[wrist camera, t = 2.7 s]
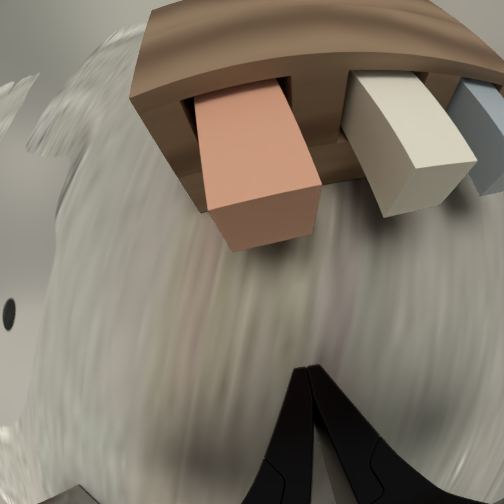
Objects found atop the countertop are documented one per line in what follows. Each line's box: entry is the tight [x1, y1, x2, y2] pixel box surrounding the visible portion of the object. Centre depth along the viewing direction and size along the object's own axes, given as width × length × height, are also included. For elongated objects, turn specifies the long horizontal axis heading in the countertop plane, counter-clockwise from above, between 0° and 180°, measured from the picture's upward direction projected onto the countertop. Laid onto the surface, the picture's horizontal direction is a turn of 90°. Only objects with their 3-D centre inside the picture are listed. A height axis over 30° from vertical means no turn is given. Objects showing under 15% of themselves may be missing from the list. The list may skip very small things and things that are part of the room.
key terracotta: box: [194, 78, 322, 252], centre depth 11 cm, size 6×4×4 cm, turn 11°
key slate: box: [445, 77, 504, 196], centre depth 10 cm, size 6×4×4 cm, turn 11°
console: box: [129, 0, 504, 213], centre depth 15 cm, size 12×22×10 cm, turn 101°
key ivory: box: [340, 70, 477, 218], centre depth 11 cm, size 6×4×4 cm, turn 11°
